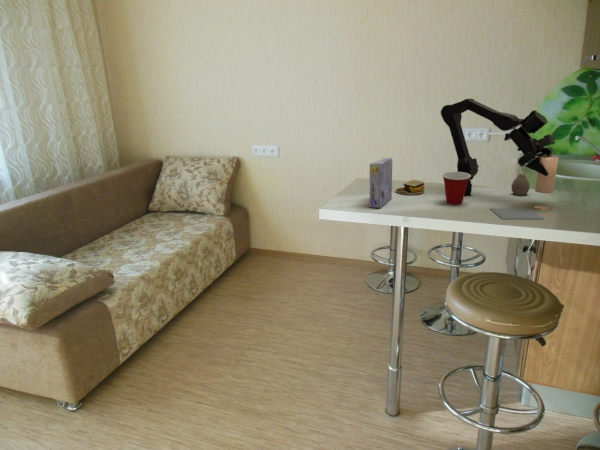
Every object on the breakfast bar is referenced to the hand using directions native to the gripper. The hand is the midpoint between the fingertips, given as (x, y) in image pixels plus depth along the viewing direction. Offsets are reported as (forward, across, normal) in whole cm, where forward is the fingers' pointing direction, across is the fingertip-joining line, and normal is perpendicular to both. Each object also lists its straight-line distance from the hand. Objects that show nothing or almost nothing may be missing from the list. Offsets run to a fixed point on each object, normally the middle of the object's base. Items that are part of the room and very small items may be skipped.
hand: (550, 174), depth 164 cm
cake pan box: (-26, -36, +45) cm, 63 cm away
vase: (-2, +16, +21) cm, 27 cm away
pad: (+6, -16, +12) cm, 21 cm away
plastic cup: (-10, -16, +30) cm, 36 cm away
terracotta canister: (+4, 0, +6) cm, 7 cm away
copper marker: (+8, 0, +10) cm, 13 cm away
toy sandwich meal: (-28, -11, +48) cm, 57 cm away
